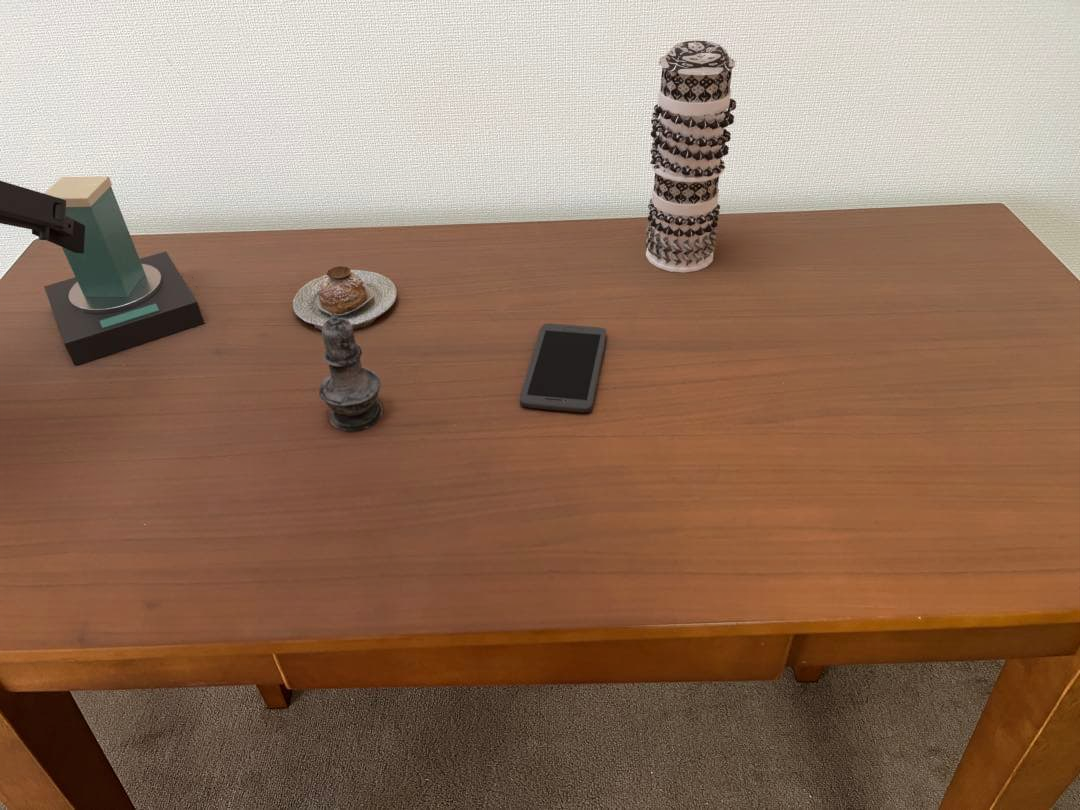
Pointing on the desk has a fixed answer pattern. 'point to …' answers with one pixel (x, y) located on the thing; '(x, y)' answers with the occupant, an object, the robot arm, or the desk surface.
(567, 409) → the cell phone
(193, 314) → the scale
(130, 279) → the spice tin
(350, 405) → the dark grey piece
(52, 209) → the robot arm
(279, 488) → the desk surface
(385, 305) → the pastry
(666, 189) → the decorative candle
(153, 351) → the desk surface
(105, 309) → the scale pan
